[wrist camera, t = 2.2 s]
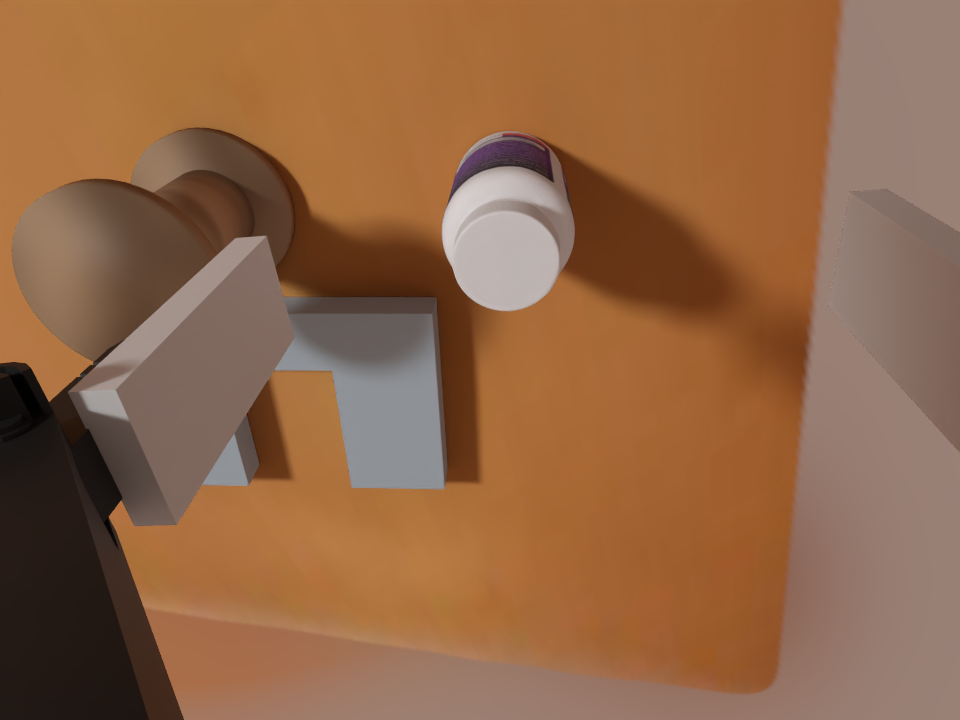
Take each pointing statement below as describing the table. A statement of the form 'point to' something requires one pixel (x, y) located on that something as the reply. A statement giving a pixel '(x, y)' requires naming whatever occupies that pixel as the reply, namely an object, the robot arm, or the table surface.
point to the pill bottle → (508, 221)
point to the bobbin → (144, 234)
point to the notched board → (366, 389)
